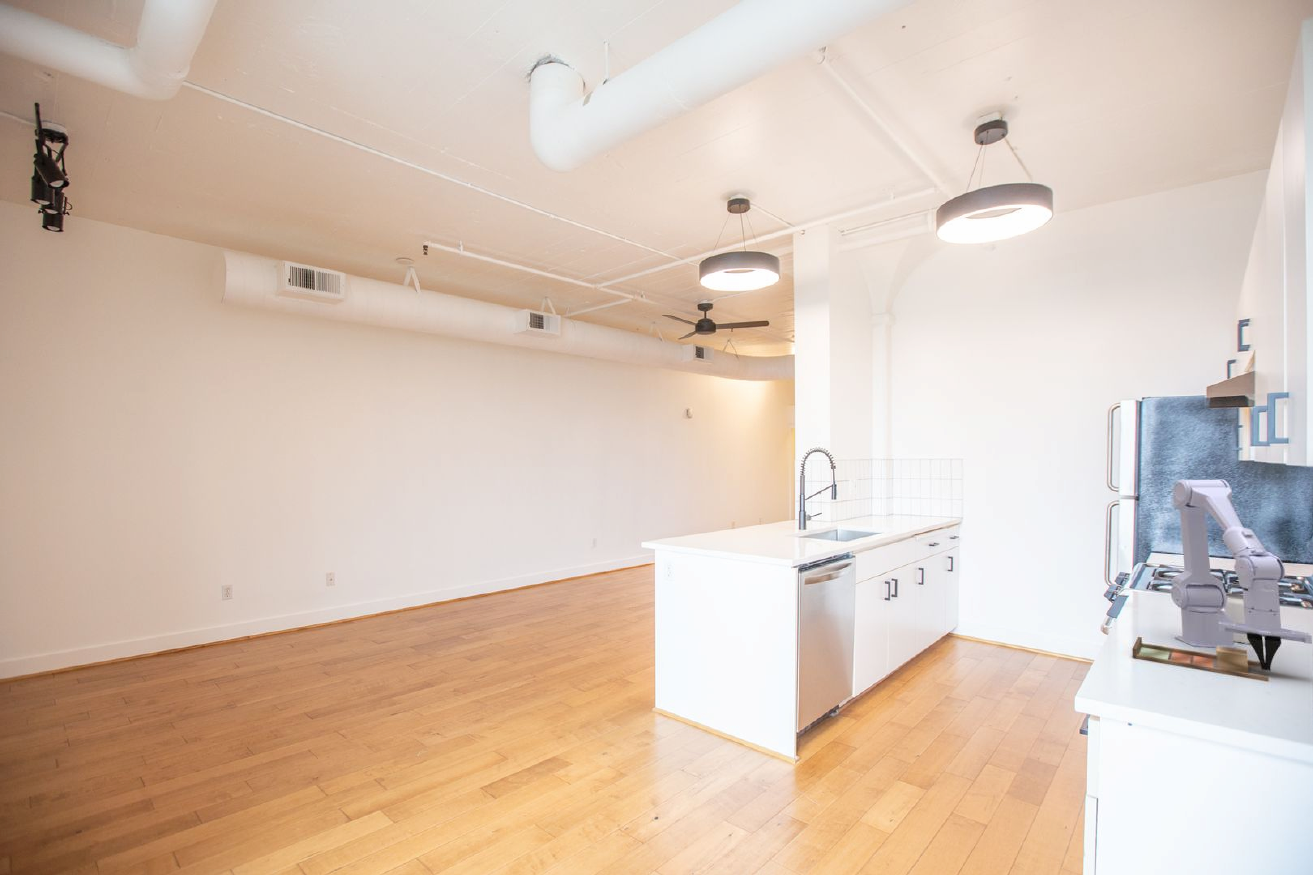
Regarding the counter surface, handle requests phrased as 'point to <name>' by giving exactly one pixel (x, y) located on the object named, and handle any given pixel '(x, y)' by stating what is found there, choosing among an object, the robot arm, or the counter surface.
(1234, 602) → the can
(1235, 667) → the block
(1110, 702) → the counter surface
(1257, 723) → the counter surface
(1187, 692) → the counter surface
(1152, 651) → the tray
